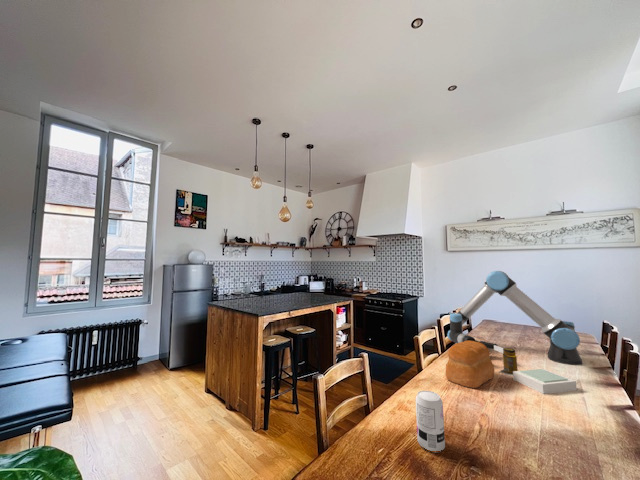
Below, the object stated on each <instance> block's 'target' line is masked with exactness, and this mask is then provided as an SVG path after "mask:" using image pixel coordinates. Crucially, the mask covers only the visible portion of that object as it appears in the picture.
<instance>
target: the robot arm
mask: <svg viewBox="0 0 640 480" xmlns="http://www.w3.org/2000/svg"><path fill="white" fill-rule="evenodd" d="M483 284H484V285H483V286H482V287H481V288H480V289H479V291H478V292H476V293H475V295H473V296H472V297H471V299H469V301H467V303H465V305H464V306H462V308H461V309H460V310H459V311H458V312H457V313H456V312H452V313H450V314H449V325H450V326H449V327H450V329H449V330H448V331H447V334H446V336H447V338H448V340H450V341H451V342H453V343H455V344H457V343H460V342H464V341H475V342H479V343H482V344H484V345H485V346H486V347H487V348H488V349H492V350H494V351H496V352H499V353H501V354H503V349H504V348H505V347H504V348H503V347H501V346H499V345H498V344H497V343H492V342H487V341H483V340H480V341H478V340H476V339H475V338H474V336H471V335H469V334H465V333H464V332H463V325H464V324H465V323H466V322H467V321H468V320H469V319H470V318H471V317H472V316H473V315H474V314H475V313H476V312H477V311H478V310H479V309H480V308H481V307H482V306H483V305H484V304H485V303H487V301H489V299H490V298H491V297H492V296H494V294H496V293H497V294H498V295H499V296H501V297H505V298H507V299H508V300H509V301H510V302H511V303H513V304H514V305H515V306H516V308H518V309H519V310H521V311H522V312H523V313H524V314H525V315H526V316H528V317H529V318H530V319H531V320H532V321H533V322H535V324H537V325H538V326H539V327H540V328H541V332H542V333H543V334H544V335H545V336H546V337H547V338H549V345H550V346H549V349H548V352H547V359H549V360H550V361H553V362H557V363H560V364H565V365H574V366H576V365H577V366H578V365H582V364H583V359H582V357H581V355H580V353H579V351H578V349H577V348H578V347H579V345H580V343H581V338H580V335H579V334H578V333H577V332H576V331H575V330H576V329H575V328H576V326H575V323H574V322H572V321H566V320H561V319H559V318H555V317H554V316H553V315H551V314H550V313H549V312H548V311H546V310H545V309H544V308H543V307H542V306H541V305H540V304H538V303H537V302H536V301H535V300H533V299H532V298H531V297H530V296H528V295H527V294H526V293H525V292H524V291H522V290H521V289H520V288H519V287H517V282H515V280H513V279H512V278H511V277H509V275H508V274H507V273H506V272H504V271H501V270H494V271H491V272H490V273H488V275H486V281H485V282H484V283H483Z"/></svg>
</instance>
